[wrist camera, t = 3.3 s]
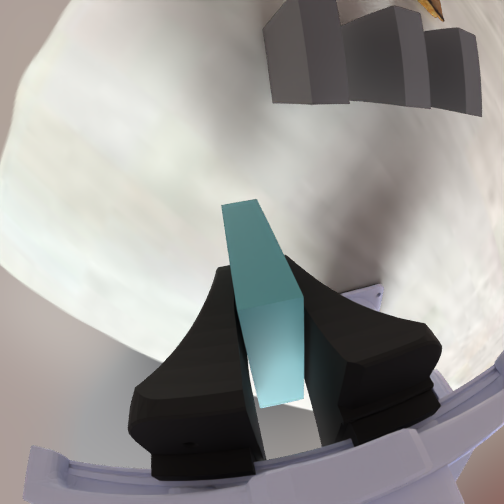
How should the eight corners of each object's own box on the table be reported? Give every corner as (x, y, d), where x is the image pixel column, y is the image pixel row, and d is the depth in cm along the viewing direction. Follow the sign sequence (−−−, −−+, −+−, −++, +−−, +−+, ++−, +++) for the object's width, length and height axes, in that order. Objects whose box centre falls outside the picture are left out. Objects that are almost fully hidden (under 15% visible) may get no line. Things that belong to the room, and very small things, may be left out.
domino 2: (288, 28, 13) (334, -7, 7) (298, 101, 16) (349, 103, 10) (262, 29, 13) (295, -10, 7) (272, 103, 15) (312, 104, 9)
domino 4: (405, 41, 14) (475, 35, 8) (411, 103, 16) (481, 117, 10) (388, 37, 14) (458, 27, 7) (394, 101, 16) (466, 113, 10)
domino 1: (256, 198, 13) (303, 296, 7) (267, 287, 15) (303, 398, 9) (221, 205, 13) (237, 310, 7) (238, 292, 15) (260, 408, 9)
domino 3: (353, 32, 13) (419, 13, 7) (361, 100, 16) (430, 108, 10) (331, 30, 13) (393, 5, 7) (339, 99, 16) (405, 106, 10)
